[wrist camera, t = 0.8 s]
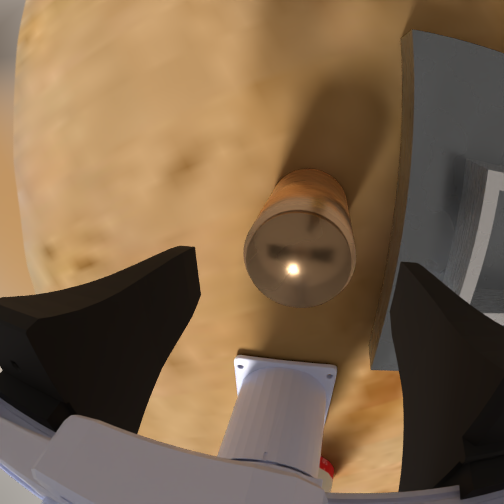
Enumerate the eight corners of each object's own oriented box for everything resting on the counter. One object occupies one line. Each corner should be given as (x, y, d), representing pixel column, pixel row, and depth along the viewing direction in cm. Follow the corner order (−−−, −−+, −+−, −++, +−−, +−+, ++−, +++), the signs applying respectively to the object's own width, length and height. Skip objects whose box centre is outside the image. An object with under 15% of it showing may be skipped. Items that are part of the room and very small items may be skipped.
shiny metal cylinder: (343, 243, 19) (348, 315, 12) (271, 238, 20) (243, 306, 13) (349, 170, 17) (363, 212, 11) (270, 167, 18) (238, 205, 11)
